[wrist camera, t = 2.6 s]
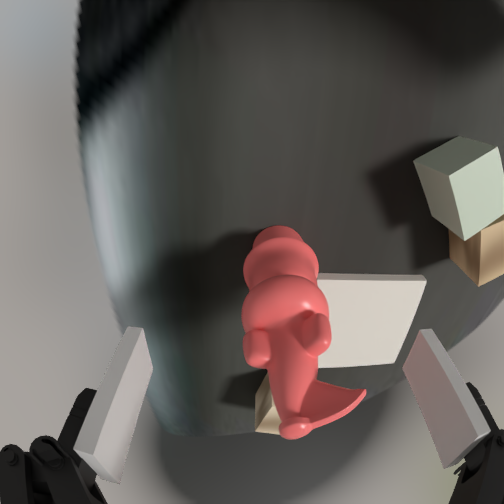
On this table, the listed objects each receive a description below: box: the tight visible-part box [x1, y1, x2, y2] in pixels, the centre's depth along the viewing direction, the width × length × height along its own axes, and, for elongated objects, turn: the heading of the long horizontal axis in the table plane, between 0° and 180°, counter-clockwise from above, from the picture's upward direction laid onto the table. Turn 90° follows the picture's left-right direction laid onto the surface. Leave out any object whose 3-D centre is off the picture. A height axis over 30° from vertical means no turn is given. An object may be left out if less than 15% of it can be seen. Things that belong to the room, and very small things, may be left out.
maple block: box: [255, 372, 317, 434], centre depth 27 cm, size 5×5×5 cm
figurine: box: [242, 225, 366, 439], centre depth 16 cm, size 5×5×15 cm
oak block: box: [449, 214, 504, 287], centre depth 19 cm, size 5×5×5 cm
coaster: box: [316, 273, 427, 368], centre depth 25 cm, size 10×10×1 cm
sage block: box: [413, 136, 504, 241], centre depth 17 cm, size 5×5×5 cm
